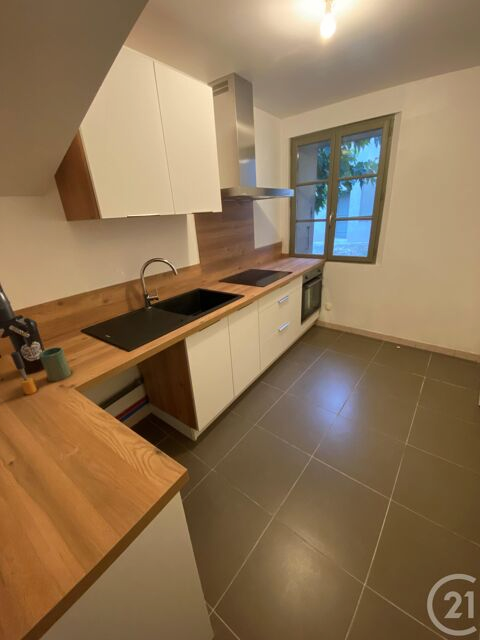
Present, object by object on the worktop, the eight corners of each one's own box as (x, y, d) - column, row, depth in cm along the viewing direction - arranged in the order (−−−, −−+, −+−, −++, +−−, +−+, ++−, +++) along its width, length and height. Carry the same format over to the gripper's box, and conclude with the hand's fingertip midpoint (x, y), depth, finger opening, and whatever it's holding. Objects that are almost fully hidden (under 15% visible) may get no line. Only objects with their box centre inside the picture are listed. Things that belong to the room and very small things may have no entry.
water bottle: (25, 377, 105) (2, 324, 96) (20, 368, 111) (-2, 318, 103) (54, 366, 111) (35, 316, 103) (48, 359, 118) (30, 311, 109)
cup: (45, 383, 100) (35, 358, 96) (52, 373, 106) (43, 349, 102) (67, 379, 101) (58, 354, 97) (73, 369, 108) (65, 345, 104)
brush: (23, 395, 93) (6, 356, 87) (27, 390, 96) (11, 351, 90) (34, 393, 94) (18, 354, 88) (38, 387, 97) (22, 349, 91)
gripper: (17, 299, 91) (34, 341, 97) (-39, 312, 80) (-16, 359, 86) (26, 302, 87) (43, 345, 93) (-32, 316, 76) (-8, 364, 82)
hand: (14, 352), depth 89 cm, fingers open, 8 cm apart
